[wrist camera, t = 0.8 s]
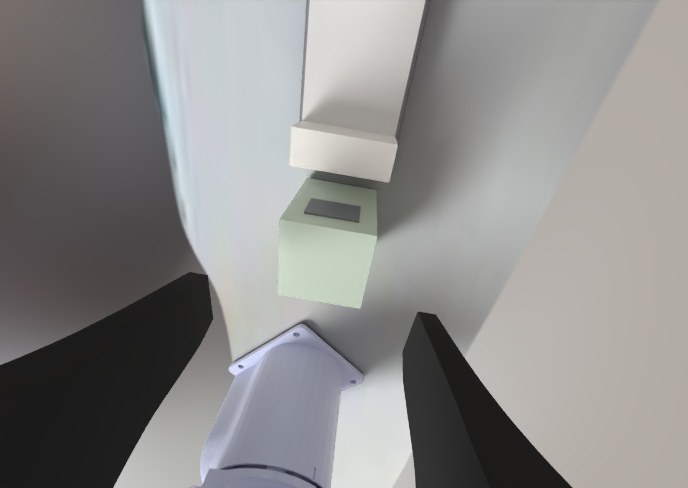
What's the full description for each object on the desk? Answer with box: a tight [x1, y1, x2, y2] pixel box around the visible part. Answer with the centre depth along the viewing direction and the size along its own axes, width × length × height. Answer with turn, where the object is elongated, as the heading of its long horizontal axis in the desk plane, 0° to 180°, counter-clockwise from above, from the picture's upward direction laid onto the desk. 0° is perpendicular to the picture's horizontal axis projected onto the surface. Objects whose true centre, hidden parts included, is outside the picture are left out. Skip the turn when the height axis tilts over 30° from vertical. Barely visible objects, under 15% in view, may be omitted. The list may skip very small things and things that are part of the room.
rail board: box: [289, 0, 430, 183], centre depth 12 cm, size 9×5×3 cm, turn 172°
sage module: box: [277, 178, 378, 309], centre depth 15 cm, size 4×4×6 cm
